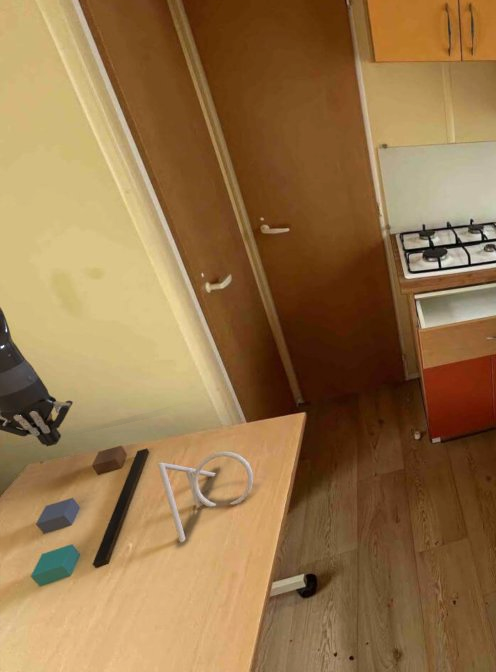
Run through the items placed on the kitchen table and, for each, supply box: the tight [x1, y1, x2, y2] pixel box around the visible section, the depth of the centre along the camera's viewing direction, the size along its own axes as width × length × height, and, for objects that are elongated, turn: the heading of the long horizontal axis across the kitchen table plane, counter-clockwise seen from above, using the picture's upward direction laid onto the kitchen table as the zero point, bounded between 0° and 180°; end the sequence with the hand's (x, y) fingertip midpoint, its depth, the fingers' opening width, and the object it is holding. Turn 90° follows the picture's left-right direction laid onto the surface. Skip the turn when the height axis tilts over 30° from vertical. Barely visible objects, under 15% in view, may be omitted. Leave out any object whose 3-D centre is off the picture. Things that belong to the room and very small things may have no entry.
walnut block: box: [91, 445, 128, 476], centre depth 102 cm, size 4×4×4 cm
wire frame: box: [157, 451, 254, 543], centre depth 95 cm, size 18×13×16 cm
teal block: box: [30, 543, 81, 587], centre depth 81 cm, size 4×4×4 cm
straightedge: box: [92, 448, 150, 569], centre depth 94 cm, size 2×30×2 cm, turn 25°
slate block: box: [35, 497, 81, 535], centre depth 90 cm, size 4×4×4 cm
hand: (53, 442), depth 95 cm, fingers closed
